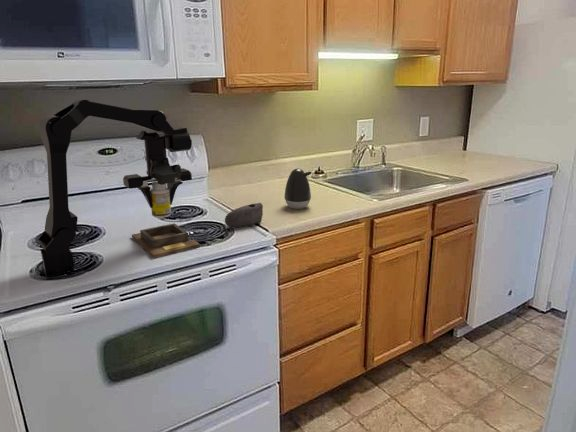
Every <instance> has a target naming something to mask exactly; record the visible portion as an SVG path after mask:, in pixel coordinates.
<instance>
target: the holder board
mask: <svg viewBox="0 0 576 432" xmlns="http://www.w3.org/2000/svg"><path fill="white" fill-rule="evenodd" d="M174 233H175V235H174ZM188 236H189V232H187V231H186V230H184V229H183V228H181V227H180V226H179V225H177V224H176V223H168V224H163V225H159V226H155V227H149V228H144V229H141V230H139V232H138V233H133V234H131V239H133V240H134V241H135V242H136V243H137V244H138V245H139V246H140V247H141V248H143V249H144V251H145V252H147V254H149V256H151V257H152V258H153V259H156V258H157V259H158V258H161V257H164V256H170V255H173V254H177V252H178V253H182V252H185V250H186V251H189V249H190V250H193V248H194V249H197V248H196V247H198V248H200V245H201V244H200V243H199V242H198V241H196V240H195V239H193V240H191V239H190V240H189V237H190V236H189V237H188ZM181 251H182V252H181ZM169 254H170V255H169Z"/></svg>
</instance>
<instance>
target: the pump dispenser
mask: <svg viewBox="0 0 576 432" xmlns="http://www.w3.org/2000/svg"><path fill="white" fill-rule="evenodd" d="M310 175H312V171H307V172H305V171H304V170H303V169H301V168H295V169H293V170H292V171H291V172H290V173H289V175H288V178H287V181H286V184H285V187H284V196H283V197H284V200H285V203H286V204H287V206H288V207H289V208H290V209H294V210H303V209H304V208H307V207H308V206H309V204H310V201H311V200H312V193H311V191H312V190H311V186H310V182H309V179H308V176H310Z"/></svg>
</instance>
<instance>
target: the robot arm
mask: <svg viewBox="0 0 576 432" xmlns="http://www.w3.org/2000/svg"><path fill="white" fill-rule="evenodd" d="M166 116H167V115H165V113H164V112H163V111H161V110H159V109H151V108H126V107H121V106H116V105H111V104H105V103H99V102H95V101H91V100H89V99H83V98H82V99H81V98H78V99H76V100H75V101H74V102H72V103H71V104H69V105H67V106H66V107H63V108H62V109H60V110H59V111H56V113H54V114H53V115H52V114H48V115H45V116H43V117H42V118H41V119H40V120H39V122H38V130H39V134H40V138H41V141H42V143H43V146H44V148H45V153H46V160H47V161H46V162H47V163H46V164H47V165H46V166H47V182H48V199H49V209H48V212H47V214H46V219H45V223H44V231H43V232H42V233H41V234H40V236H39V237H38V238H37V239H36V241H37V243H38V244H39V246H40V247H41V249H40V256H41V260H42V265H43V267H42V269H43V270H42V271H44V272H43V273H44V274H45V277H46V278H52V277H56V276H60V275H63V274H62V273H64V274H66V273H65V272H68V271H73V270H74V271H75V260H74V255H73V252H72V250H71V249H70V248H71V243H72V242H73V240H75V238H76V236H77V235H76V234H77V233H79V229H78V225H77V224H78V215H75V214H74V213H73V212H72V211H70V209H69V190H68V189H69V188H68V167H67V165H68V164H67V153H68V149H69V147H70V145H71V139H72V131H73V130H74V129H76V128H77V127H78V126H80V124H82V123H83V121H85V119H86V118H88V117H96V118H99V119H100V118H101V119H105V120H106V119H107V120H113V121H119V122H123V123H124V122H125V123H129V124H131V125H133V126H136V127H139V128H142V129H145V130H141V131H140V132H139V134H137V136H136V137H135V138H136V139H137V140H141V141H143V142H144V152H145V156H144V160H145V162H146V176H145V175H144V176H141V175H139V174H137V173H133V174H127V175H124V176H123V178H122V181H123V185H124V186H125V187H126V188H128V189H138V190H140V192H141V193H142V195H143V197H144V198H145V201H146V202H147V205H148V206H149V208H150V209H151V208H152V199H151V194H150V190H151V189H152V186H149V183H153V182H158V184H160V185H164V184H166V188H168V189H169V192H170V206H172V204H173V201H174V198H175V194H176V191H177V189H178V187H180V185H182V184H183V182H187V181H188V182H189V181H191V180H193V178H192V177H193V175H192V174H193V173H192V172H191V170H189V169H187V168H183V167H181V165H180V163H179V164H173V165H171V164H170V161H169V158H168V156H167V150H168V152H170V153H176V152H177V153H178V152H184V151H185V152H186V151H190V150H191V149H192V145H193V143H192V142H193V141H192V139H191V136H190V135H191V134H189V132H188V128H187V127H178V128H173V126H171V124H170V123H169V122H168V120H167V117H166ZM146 130H150V131H154V132H147V131H146ZM159 133H163V134H159ZM74 271H73V272H74ZM59 274H60V275H59Z"/></svg>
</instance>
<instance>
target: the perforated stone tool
mask: <svg viewBox="0 0 576 432" xmlns="http://www.w3.org/2000/svg"><path fill="white" fill-rule="evenodd" d="M263 207H264V206H263V203H262V202H257V203H251V204H247V205H243V206H240V207H237V208H235V209H233V210H230V212H228V213H227V214H226V216H225V218H224V224H225V226H227V227H229V228H240V227H247V226H252V225H255V224H259V223H261V222H262V220H263V217H264V216H263V215H264V213H263V211H264V210H263Z"/></svg>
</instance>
